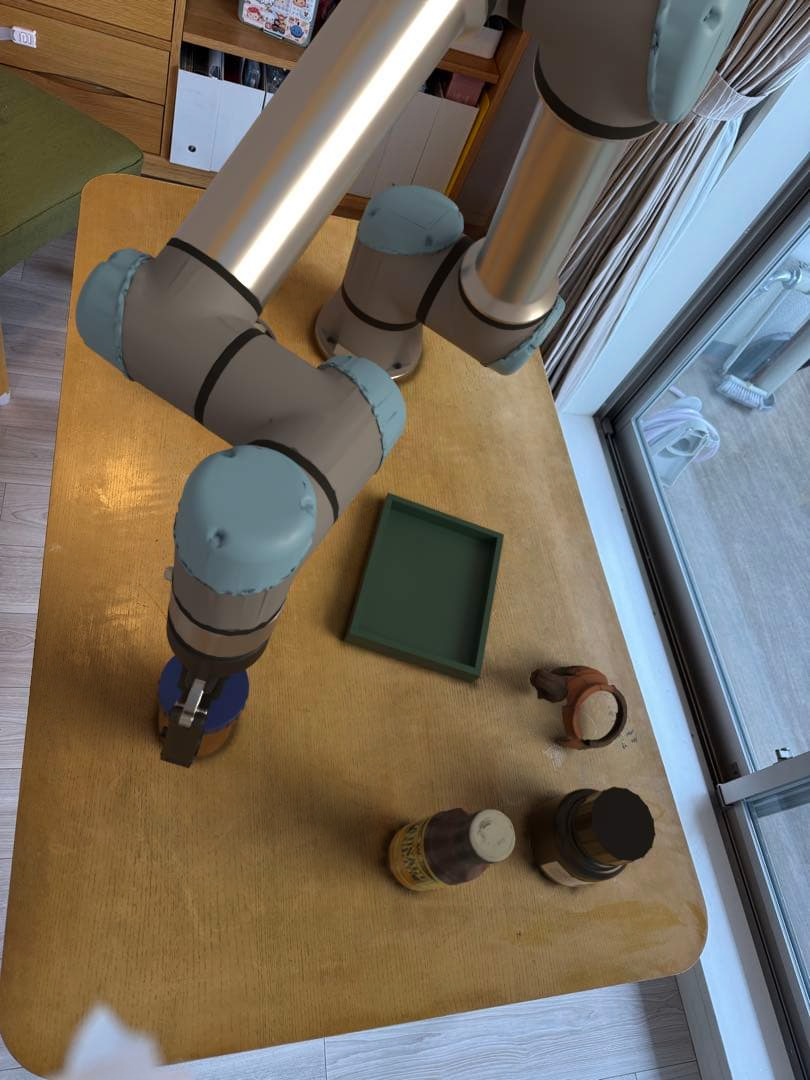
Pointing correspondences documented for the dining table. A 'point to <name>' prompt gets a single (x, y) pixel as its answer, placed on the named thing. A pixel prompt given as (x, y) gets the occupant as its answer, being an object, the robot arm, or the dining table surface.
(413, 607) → the tray
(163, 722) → the jar
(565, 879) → the ink bottle
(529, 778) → the dining table surface
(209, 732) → the lid
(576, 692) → the pottery mug
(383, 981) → the dining table surface
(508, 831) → the sauce bottle
